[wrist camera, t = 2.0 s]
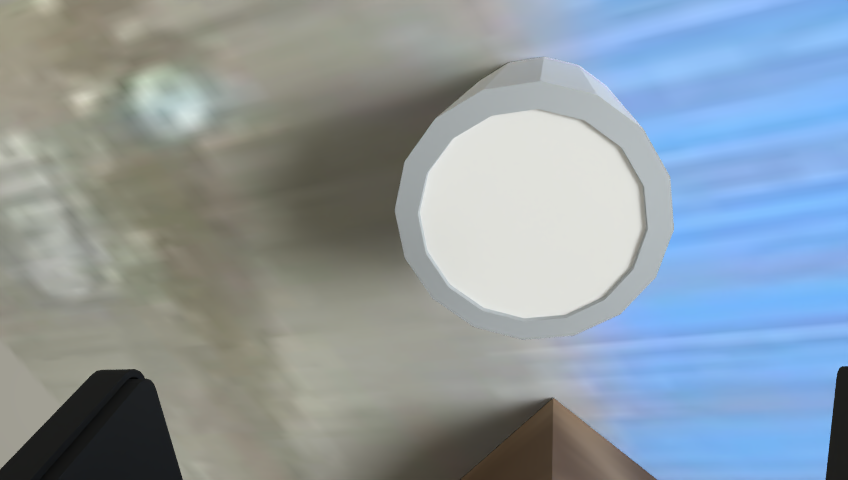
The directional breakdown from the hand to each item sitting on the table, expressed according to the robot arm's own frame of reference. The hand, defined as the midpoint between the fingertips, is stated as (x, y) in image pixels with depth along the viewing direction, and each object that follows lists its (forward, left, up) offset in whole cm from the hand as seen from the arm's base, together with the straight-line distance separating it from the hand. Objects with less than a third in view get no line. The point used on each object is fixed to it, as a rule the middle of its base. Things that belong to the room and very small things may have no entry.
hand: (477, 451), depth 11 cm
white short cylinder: (0, 0, -16) cm, 16 cm away
